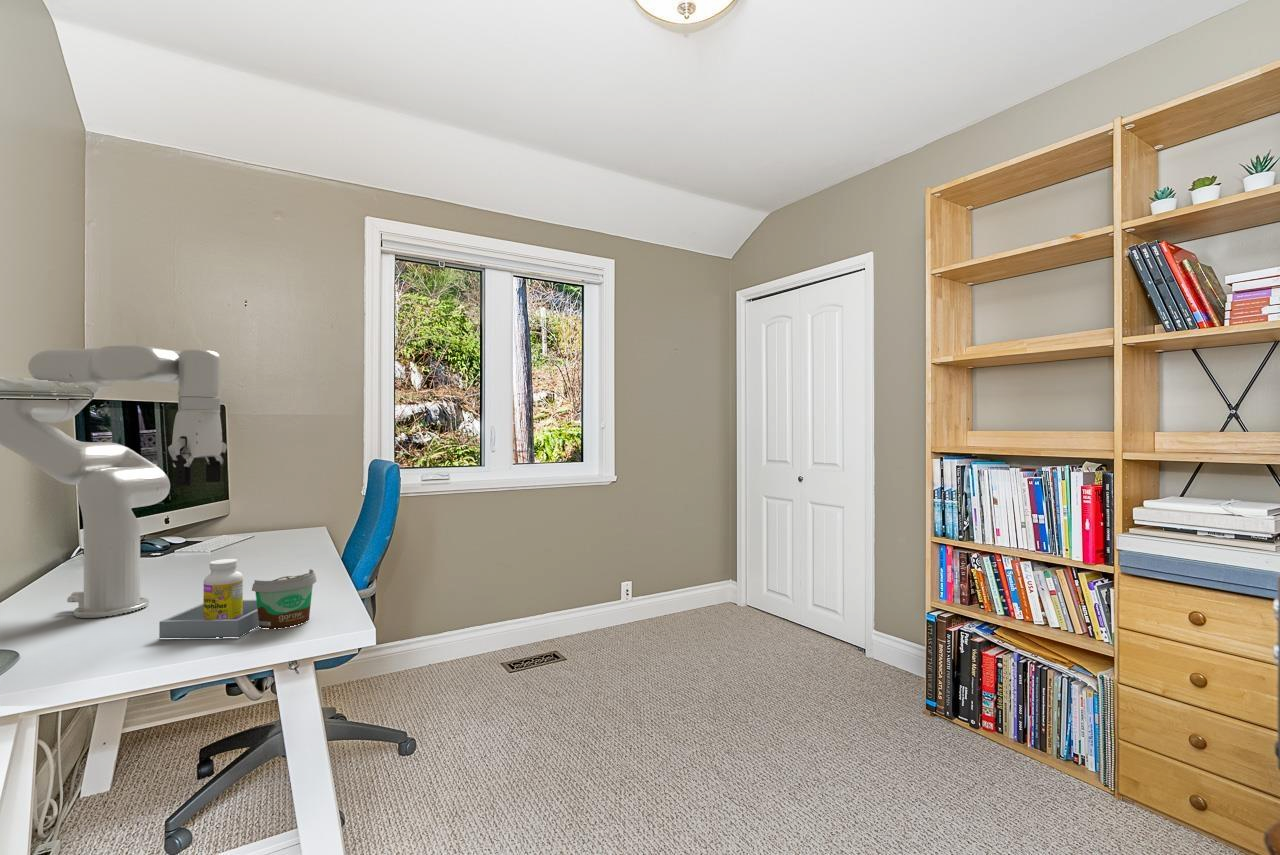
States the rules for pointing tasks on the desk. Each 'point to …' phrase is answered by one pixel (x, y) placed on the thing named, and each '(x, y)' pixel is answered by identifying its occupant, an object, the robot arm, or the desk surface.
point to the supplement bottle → (223, 591)
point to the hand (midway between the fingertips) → (199, 483)
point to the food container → (284, 600)
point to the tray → (209, 624)
